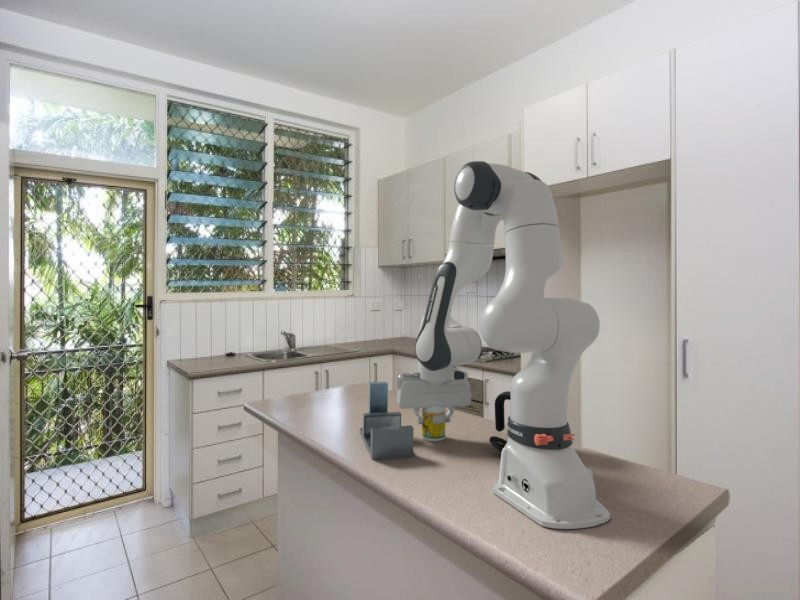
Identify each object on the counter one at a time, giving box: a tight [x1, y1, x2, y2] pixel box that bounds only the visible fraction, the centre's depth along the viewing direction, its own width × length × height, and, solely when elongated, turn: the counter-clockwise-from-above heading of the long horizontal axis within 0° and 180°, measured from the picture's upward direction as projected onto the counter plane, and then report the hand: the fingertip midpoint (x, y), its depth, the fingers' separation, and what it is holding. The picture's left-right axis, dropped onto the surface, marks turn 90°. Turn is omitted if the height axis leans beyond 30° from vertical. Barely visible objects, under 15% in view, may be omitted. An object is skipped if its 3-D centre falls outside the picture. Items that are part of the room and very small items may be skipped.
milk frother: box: [489, 390, 511, 453], centre depth 114 cm, size 14×16×15 cm
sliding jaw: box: [362, 381, 402, 436], centre depth 122 cm, size 9×10×12 cm
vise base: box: [359, 424, 414, 461], centre depth 116 cm, size 20×10×7 cm, turn 14°
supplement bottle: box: [421, 398, 447, 443], centre depth 122 cm, size 6×6×11 cm
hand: (433, 423), depth 122 cm, fingers closed on supplement bottle, 6 cm apart
